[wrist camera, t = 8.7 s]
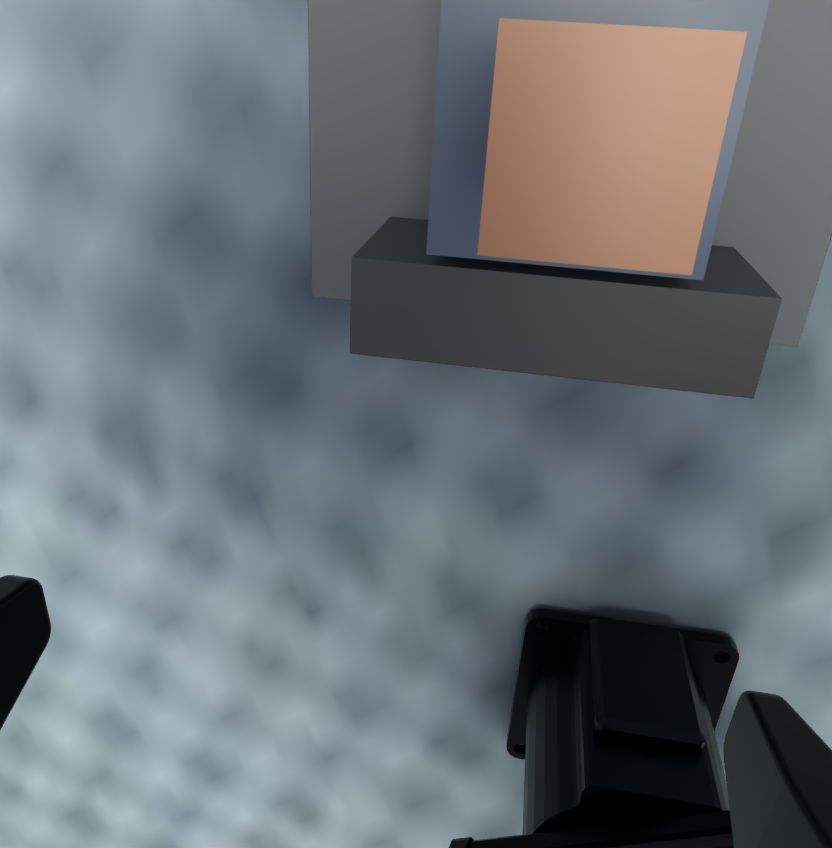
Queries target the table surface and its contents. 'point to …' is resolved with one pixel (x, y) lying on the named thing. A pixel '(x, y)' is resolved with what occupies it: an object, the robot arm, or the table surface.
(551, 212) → the traveler car
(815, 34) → the traveler track
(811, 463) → the table surface
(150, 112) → the table surface
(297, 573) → the table surface
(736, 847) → the robot arm
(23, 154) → the table surface
